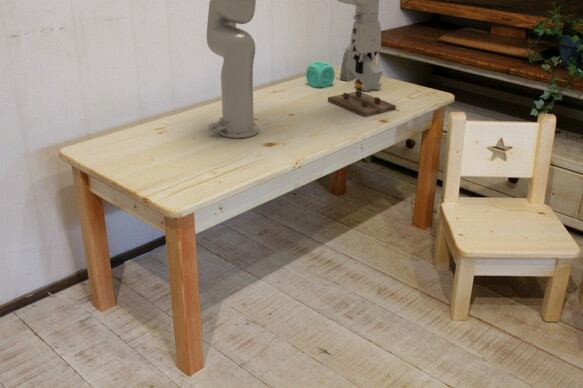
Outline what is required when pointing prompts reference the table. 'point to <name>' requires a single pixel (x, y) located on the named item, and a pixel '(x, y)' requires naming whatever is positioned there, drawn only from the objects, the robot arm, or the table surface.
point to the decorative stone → (345, 72)
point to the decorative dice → (320, 74)
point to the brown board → (361, 103)
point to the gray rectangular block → (366, 71)
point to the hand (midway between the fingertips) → (363, 71)
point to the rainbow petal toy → (360, 85)
